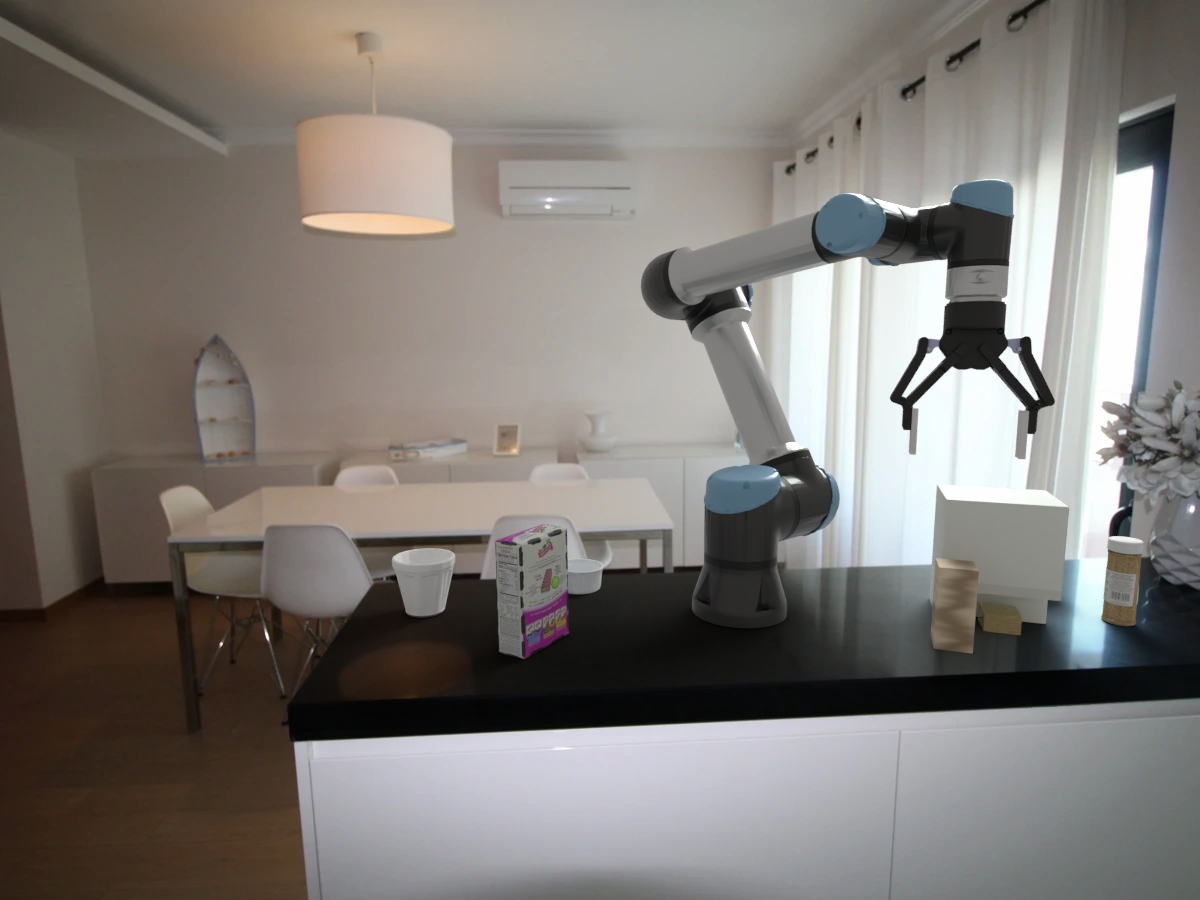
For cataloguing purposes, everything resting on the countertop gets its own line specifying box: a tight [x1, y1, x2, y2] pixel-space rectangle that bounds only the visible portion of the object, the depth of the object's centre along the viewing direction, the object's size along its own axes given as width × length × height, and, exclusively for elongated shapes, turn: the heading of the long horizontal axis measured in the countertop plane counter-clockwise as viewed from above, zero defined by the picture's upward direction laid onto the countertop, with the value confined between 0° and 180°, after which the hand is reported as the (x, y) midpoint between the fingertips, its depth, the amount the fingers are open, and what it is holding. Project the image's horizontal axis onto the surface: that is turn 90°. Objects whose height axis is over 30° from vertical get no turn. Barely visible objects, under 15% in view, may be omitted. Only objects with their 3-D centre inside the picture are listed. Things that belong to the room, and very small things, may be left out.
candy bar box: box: [494, 523, 570, 660], centre depth 104 cm, size 11×5×16 cm, turn 148°
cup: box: [391, 547, 456, 619], centre depth 117 cm, size 10×10×9 cm
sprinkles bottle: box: [1100, 535, 1145, 627], centre depth 113 cm, size 5×5×14 cm
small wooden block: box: [978, 603, 1023, 636], centre depth 112 cm, size 5×5×3 cm
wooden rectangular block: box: [929, 558, 979, 654], centre depth 109 cm, size 5×15×12 cm, turn 161°
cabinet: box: [929, 483, 1070, 625], centre depth 114 cm, size 16×14×20 cm
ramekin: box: [568, 558, 604, 595], centre depth 130 cm, size 9×9×4 cm
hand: (965, 455), depth 101 cm, fingers open, 13 cm apart
